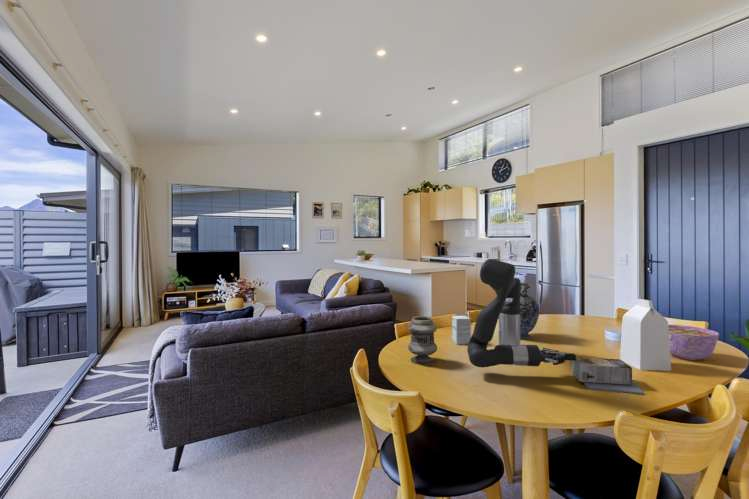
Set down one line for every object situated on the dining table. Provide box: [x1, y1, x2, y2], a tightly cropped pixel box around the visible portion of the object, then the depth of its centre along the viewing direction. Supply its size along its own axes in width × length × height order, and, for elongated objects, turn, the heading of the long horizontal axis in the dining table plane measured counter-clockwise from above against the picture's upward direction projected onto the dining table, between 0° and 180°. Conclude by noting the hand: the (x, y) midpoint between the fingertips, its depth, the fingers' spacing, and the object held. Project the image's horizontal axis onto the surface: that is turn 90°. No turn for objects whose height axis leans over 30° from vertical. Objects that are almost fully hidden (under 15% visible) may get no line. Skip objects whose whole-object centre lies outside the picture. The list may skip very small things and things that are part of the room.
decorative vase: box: [504, 282, 540, 341], centre depth 187 cm, size 21×19×28 cm
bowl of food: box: [668, 324, 720, 361], centre depth 152 cm, size 20×20×12 cm
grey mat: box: [582, 380, 645, 396], centre depth 125 cm, size 16×16×1 cm
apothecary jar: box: [407, 315, 438, 365], centre depth 151 cm, size 12×12×18 cm
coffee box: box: [571, 356, 633, 385], centre depth 127 cm, size 9×6×16 cm
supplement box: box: [451, 315, 472, 346], centre depth 178 cm, size 7×7×13 cm
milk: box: [619, 298, 672, 372], centre depth 143 cm, size 12×12×26 cm
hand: (575, 357), depth 129 cm, fingers closed
